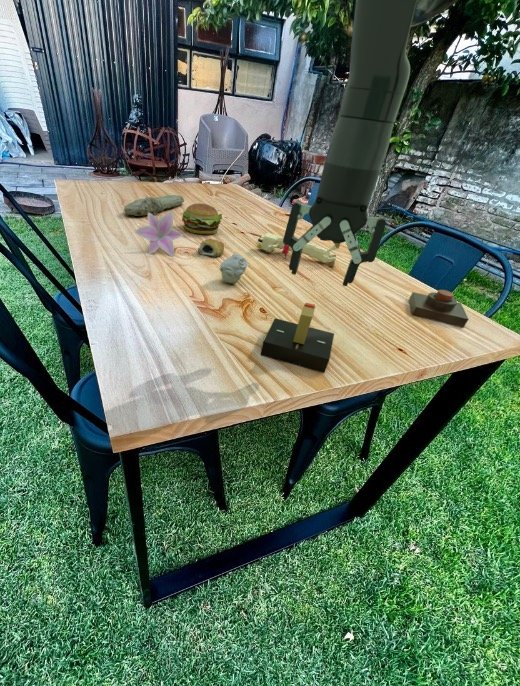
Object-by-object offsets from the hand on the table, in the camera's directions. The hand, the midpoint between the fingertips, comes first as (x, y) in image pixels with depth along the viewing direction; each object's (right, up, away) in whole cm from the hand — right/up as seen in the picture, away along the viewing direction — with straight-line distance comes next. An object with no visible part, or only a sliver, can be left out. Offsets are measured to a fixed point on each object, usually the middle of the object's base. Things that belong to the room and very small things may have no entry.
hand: (319, 278), depth 58 cm
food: (-23, +38, +62) cm, 77 cm away
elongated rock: (-41, +54, +77) cm, 102 cm away
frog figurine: (-14, +10, +31) cm, 35 cm away
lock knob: (-1, -8, +7) cm, 11 cm away
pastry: (-19, +24, +46) cm, 55 cm away
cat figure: (+7, +25, +51) cm, 57 cm away
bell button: (+38, +5, +28) cm, 48 cm away
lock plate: (-2, -11, +9) cm, 14 cm away
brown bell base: (+38, +2, +30) cm, 49 cm away
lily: (-34, +23, +43) cm, 59 cm away
